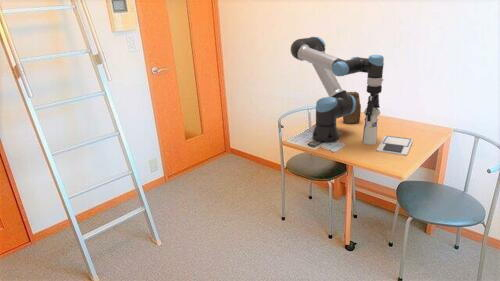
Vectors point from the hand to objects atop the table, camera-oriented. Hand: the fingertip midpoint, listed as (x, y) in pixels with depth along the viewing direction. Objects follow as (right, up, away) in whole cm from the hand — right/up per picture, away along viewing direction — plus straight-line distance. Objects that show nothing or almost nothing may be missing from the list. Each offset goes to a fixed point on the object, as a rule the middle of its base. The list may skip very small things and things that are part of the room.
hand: (371, 122), depth 198 cm
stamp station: (+12, -13, -2) cm, 18 cm away
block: (-1, +2, +38) cm, 38 cm away
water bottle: (0, -11, +5) cm, 12 cm away
